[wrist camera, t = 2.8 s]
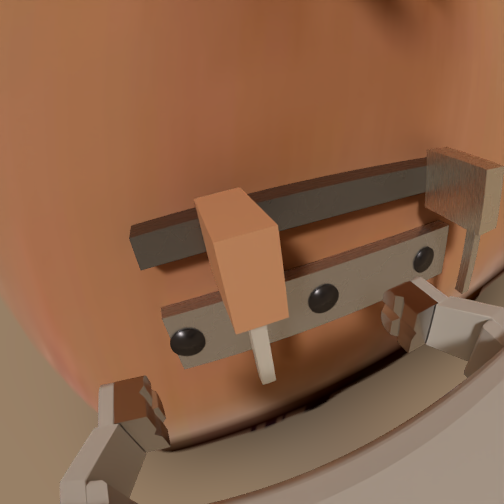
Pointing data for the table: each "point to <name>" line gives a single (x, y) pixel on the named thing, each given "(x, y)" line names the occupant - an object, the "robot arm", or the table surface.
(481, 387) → the robot arm
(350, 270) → the hole strip
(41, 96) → the table surface
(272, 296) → the block
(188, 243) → the rail
